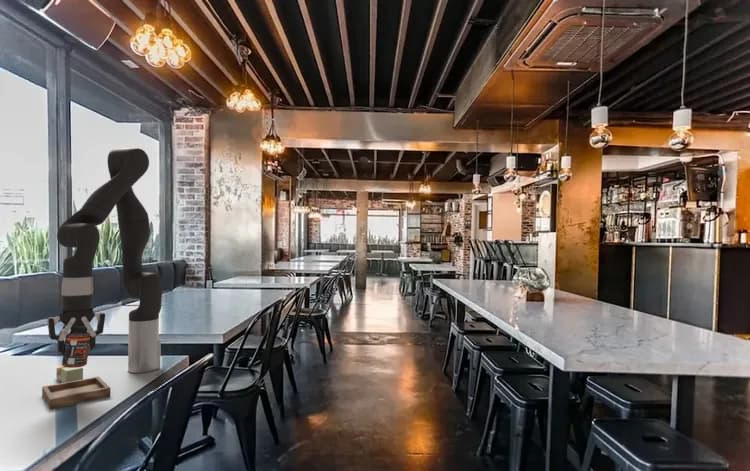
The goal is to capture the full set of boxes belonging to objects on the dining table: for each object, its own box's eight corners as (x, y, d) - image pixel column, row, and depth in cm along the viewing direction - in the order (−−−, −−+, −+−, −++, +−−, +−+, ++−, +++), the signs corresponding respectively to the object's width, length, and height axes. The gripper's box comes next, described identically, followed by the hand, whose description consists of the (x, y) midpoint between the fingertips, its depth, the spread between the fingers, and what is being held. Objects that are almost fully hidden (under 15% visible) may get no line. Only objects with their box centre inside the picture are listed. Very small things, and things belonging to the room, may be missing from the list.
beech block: (75, 375, 147) (75, 362, 147) (75, 378, 143) (75, 365, 143) (57, 377, 144) (57, 365, 144) (56, 380, 141) (56, 368, 141)
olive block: (83, 367, 139) (82, 382, 139) (77, 365, 142) (77, 379, 142) (66, 371, 136) (66, 385, 136) (61, 368, 139) (61, 382, 139)
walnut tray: (98, 384, 137) (98, 376, 137) (110, 396, 127) (110, 387, 127) (42, 395, 127) (42, 386, 127) (49, 409, 117) (50, 399, 117)
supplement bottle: (74, 369, 123) (79, 327, 124) (56, 366, 124) (61, 325, 125) (91, 364, 129) (96, 325, 130) (74, 362, 130) (78, 323, 131)
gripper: (103, 290, 135) (102, 345, 135) (44, 293, 125) (43, 353, 125) (109, 292, 130) (108, 349, 129) (48, 296, 120) (47, 358, 119)
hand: (76, 351), depth 127 cm, fingers closed on supplement bottle, 6 cm apart
